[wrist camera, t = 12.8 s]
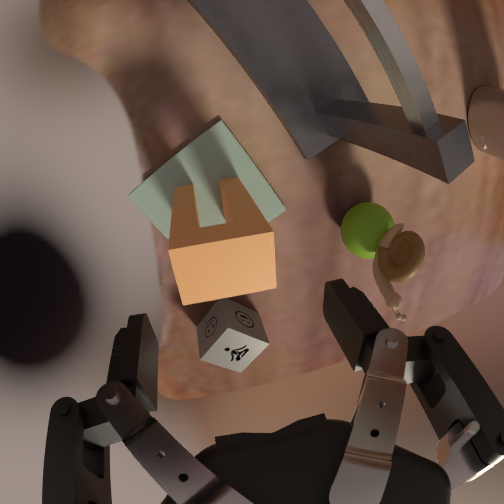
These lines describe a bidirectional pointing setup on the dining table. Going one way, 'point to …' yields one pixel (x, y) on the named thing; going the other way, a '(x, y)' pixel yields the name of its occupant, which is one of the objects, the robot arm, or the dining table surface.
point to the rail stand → (338, 83)
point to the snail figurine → (383, 248)
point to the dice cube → (231, 335)
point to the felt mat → (204, 180)
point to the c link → (220, 246)
